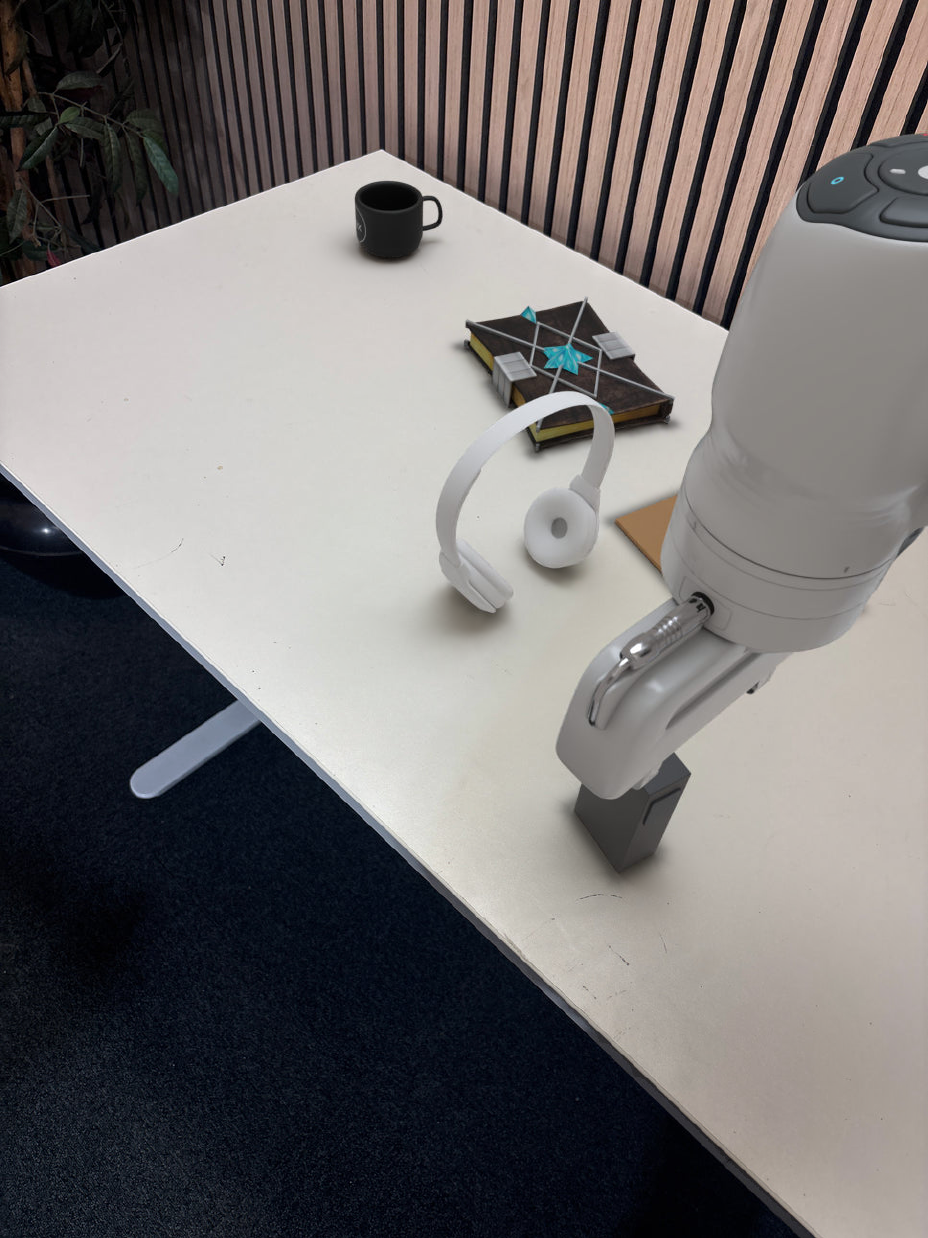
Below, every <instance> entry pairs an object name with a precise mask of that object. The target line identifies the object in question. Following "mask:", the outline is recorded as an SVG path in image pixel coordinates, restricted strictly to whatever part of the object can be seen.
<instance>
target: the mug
mask: <svg viewBox="0 0 928 1238" xmlns="http://www.w3.org/2000/svg"><path fill="white" fill-rule="evenodd" d="M428 201H429V202H434V203H435V206H436V208H437V214H438V215H437V219H436V221H435V222H433V223H429V224H426V225H424V202H428ZM354 214H355V216H354V217H355V234H356V238H357V240H358V242H359V244H360V246H361V248H363V249H364V251H366V252H368V253H369V254H371V255H374V256H378V257H383V258H398V257H403V256H407V255H410V254H411V253H413V252H415V251H416V250H417V249H418V247H419V246H420V244H421V242H422V240H423V235H424V232H426V231H431V230H434V229H437V228H439V227H440V226H441V224H442V222H443V218H444V216H443V215H444V211H443V207H442V203H441V201H440V200H439V199H438V198H437V197H436V196H434V195H423V193H422V192H421V191H420V190H419V189H418V188H417V187H415V186H413V185H411V184H409V183H406V182H402V181H398V180H379V181H374V182H370V183H367V184H364V185H362V186H361V187H360V188H358V189H357V190H356V191H355V194H354Z"/></svg>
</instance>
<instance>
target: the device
mask: <svg viewBox="0 0 928 1238" xmlns="http://www.w3.org/2000/svg"><path fill="white" fill-rule="evenodd" d="M658 771H659V772H658V774H657V775H656V776H655V777H653V778H652V779H651V780H650V781H649V782H648V783H646V784H645V785H644V786H643V787H642V788H640V789H639V790H635V789H633V788H630V789H629V790H628V791H627V792H626V793H624V794H623V795H622V796H620V797H619V798H617V799H613V800H609V799H604V798H601V797H599V796H597V795H596V794H594V793H593V792H592V791H590V790H589V789H588V788H587V787H586V786H585V785H583V784H582V783H581V782H580V783H581V784H580V787H579V790H578V794H577V797H576V801H575V805H574V808H573V811H574V812H575V813H576V815H577V817H578V818H579V819H580V821H581V822H582V823H583V825H584V827H585V828H586V829H587V831H588V832H589V834H590V835H591V837H592V838H593V840H594V841H595V842H596V844H597V846H599V848H600V850H601V851H602V852H603V854H604V855H605V857H606V858H607V860H608V861H609V863H610V864H611V865H612V867H613V868H614V869H615V871H616V873H618V874H619V873H621V872H622V871H624V870H627V869H628V868H629V867H632V866H633V865H635V864H637V863H639V862H640V861H642V860H645V859H646V858H648V857H650V856H652V855H653V854H655V853H656V851H657V849H658V847H659V845H660V843H661V840H662V838H663V836H664V833H665V832H666V829H667V827H668V825H669V823H670V821H671V819H672V817H673V814H674V812H675V811H676V808H677V806H678V804H679V802H680V799H681V797H682V795H683V793H684V790H685V789H686V787H687V784H688V782H689V780H690V778H691V776H692V772H691V771H690V770H689V768H688V767H687V766H686V765H685V763H684V762H683V761H682V760H681V758H680V757H679V756H678V754H676V751H675V752H674V753H672V754H671V755H670V756H669V757H668V758H666V759H665V760H664V761H663V762H662V765H661V767H660V768H659V770H658Z"/></svg>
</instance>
